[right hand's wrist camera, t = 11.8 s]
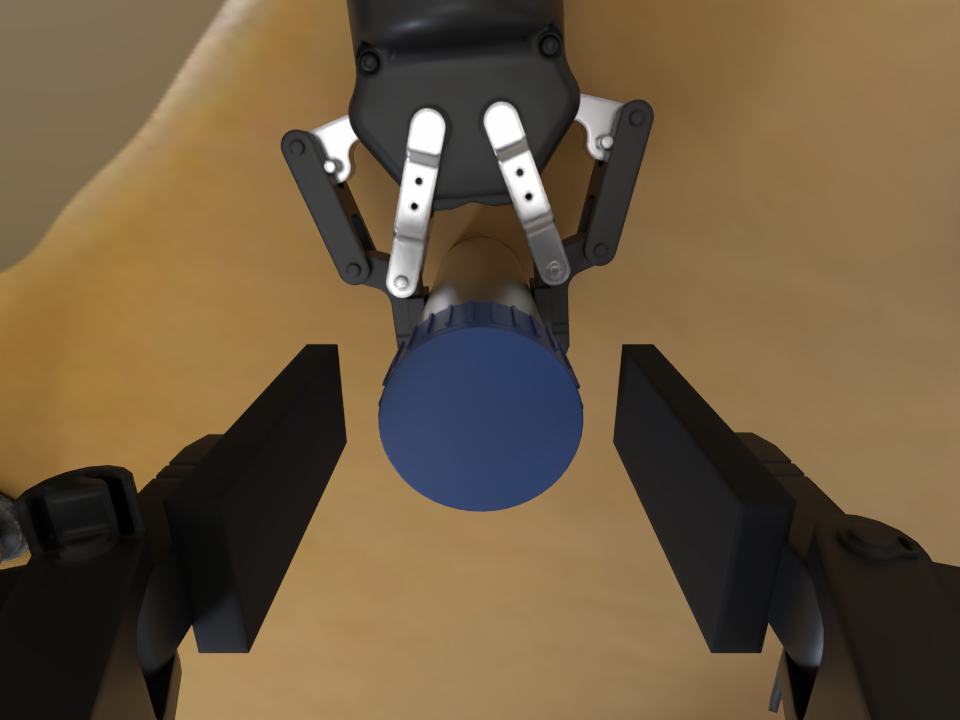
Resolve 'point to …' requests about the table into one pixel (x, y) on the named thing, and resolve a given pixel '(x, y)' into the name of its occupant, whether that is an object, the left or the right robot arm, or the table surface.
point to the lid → (480, 408)
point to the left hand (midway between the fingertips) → (486, 368)
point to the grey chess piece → (10, 531)
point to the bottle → (480, 278)
